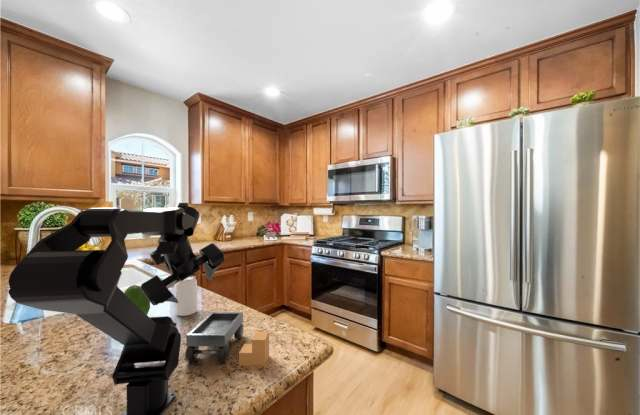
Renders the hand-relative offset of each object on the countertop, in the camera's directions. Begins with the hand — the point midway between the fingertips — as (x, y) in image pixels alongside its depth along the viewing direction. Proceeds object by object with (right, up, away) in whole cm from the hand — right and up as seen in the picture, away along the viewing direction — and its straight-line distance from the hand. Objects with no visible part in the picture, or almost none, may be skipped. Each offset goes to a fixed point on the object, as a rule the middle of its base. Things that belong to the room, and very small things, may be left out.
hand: (193, 290), depth 70 cm
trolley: (+8, -14, -3) cm, 16 cm away
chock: (+19, -14, -9) cm, 25 cm away
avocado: (-24, -14, +11) cm, 30 cm away
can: (-12, -14, +19) cm, 26 cm away
